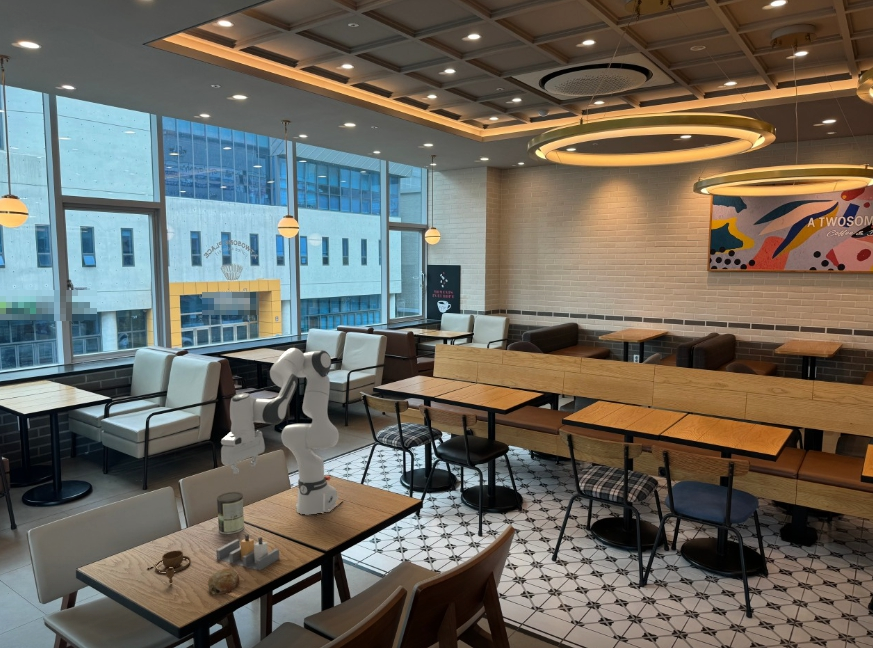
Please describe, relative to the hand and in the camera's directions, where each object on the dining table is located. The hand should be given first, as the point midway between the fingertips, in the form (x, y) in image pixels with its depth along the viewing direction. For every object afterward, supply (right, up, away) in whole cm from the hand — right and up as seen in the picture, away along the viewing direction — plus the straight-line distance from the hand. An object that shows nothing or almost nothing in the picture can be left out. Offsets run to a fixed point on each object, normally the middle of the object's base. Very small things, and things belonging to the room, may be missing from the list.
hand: (244, 469), depth 241 cm
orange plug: (+6, -29, -16) cm, 34 cm away
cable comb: (+6, -30, -16) cm, 35 cm away
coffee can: (-10, -28, +13) cm, 33 cm away
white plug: (+12, -29, -19) cm, 37 cm away
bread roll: (+4, -32, -34) cm, 47 cm away
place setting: (-21, -32, -22) cm, 44 cm away
